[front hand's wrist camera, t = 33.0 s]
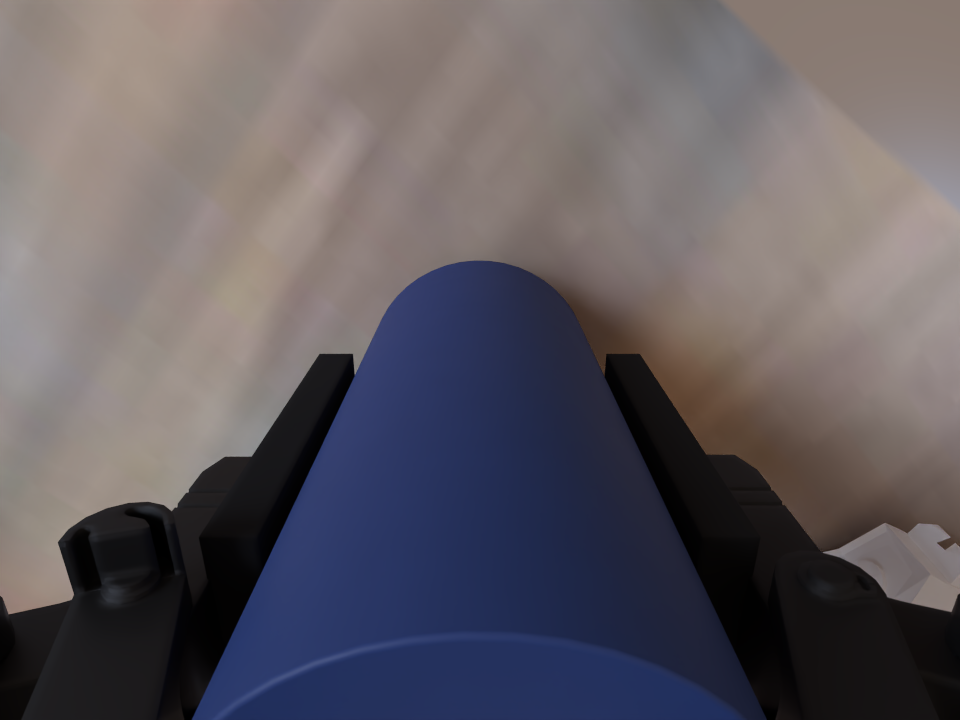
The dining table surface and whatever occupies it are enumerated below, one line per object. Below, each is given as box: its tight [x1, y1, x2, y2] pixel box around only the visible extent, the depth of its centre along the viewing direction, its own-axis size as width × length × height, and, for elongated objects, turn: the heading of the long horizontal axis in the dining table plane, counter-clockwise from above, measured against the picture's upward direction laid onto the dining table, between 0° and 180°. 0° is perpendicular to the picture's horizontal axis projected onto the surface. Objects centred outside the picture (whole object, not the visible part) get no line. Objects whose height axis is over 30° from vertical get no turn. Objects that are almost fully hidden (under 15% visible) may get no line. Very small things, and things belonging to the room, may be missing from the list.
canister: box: [192, 261, 767, 720], centre depth 11 cm, size 6×6×12 cm
